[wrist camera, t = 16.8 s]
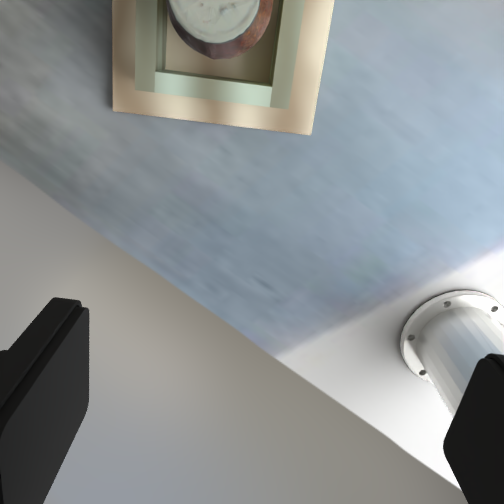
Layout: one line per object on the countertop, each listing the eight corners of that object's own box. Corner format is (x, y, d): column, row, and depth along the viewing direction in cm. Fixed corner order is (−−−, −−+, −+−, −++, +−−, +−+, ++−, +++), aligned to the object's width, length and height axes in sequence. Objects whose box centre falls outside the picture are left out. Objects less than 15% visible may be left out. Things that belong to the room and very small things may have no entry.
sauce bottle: (192, -41, 34) (144, -143, 16) (269, -24, 35) (305, -103, 17) (182, 49, 37) (131, 47, 19) (254, 63, 38) (271, 75, 20)
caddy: (349, -102, 34) (371, -132, 28) (309, 133, 42) (319, 145, 36) (115, -140, 33) (89, -180, 27) (116, 109, 40) (96, 118, 35)
